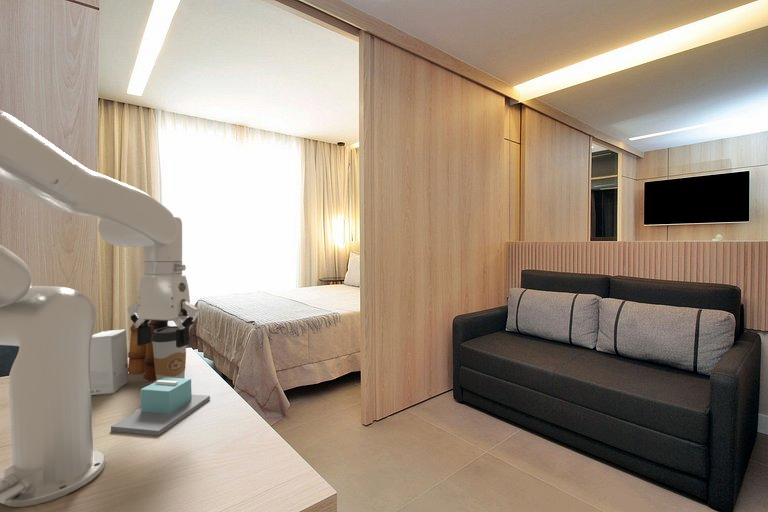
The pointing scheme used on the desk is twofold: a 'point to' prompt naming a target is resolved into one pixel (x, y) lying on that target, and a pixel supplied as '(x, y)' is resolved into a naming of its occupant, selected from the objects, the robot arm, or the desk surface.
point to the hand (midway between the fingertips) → (163, 345)
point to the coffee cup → (168, 354)
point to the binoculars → (143, 353)
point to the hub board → (157, 418)
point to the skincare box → (108, 361)
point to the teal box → (166, 395)
